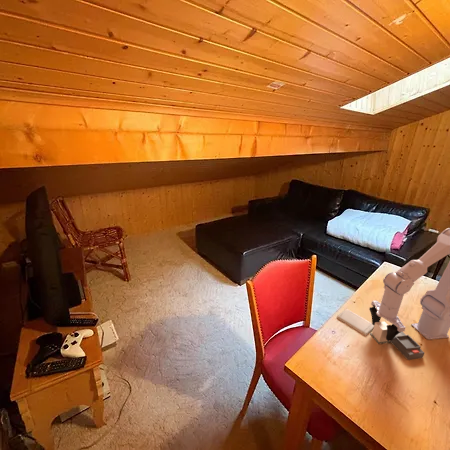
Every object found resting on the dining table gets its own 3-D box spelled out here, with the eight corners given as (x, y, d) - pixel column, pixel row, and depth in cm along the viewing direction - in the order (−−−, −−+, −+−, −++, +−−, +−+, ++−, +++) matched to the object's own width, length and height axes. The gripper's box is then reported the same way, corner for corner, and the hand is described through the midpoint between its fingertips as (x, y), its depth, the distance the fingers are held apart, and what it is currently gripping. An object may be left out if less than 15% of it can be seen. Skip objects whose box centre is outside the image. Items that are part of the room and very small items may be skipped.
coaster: (381, 332, 97) (381, 332, 97) (390, 342, 93) (390, 341, 93) (370, 334, 97) (370, 333, 97) (378, 343, 92) (378, 342, 92)
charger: (381, 333, 97) (384, 321, 94) (388, 341, 93) (392, 329, 91) (371, 333, 96) (375, 322, 94) (378, 342, 93) (382, 330, 90)
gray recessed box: (400, 336, 96) (402, 329, 94) (422, 357, 86) (425, 350, 85) (386, 337, 95) (389, 330, 94) (407, 359, 86) (410, 352, 85)
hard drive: (337, 315, 105) (366, 333, 96) (346, 308, 109) (375, 324, 100) (336, 318, 106) (365, 336, 96) (346, 311, 110) (375, 327, 101)
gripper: (367, 292, 95) (360, 319, 100) (395, 318, 81) (386, 348, 86) (383, 290, 96) (376, 317, 101) (414, 316, 82) (403, 346, 87)
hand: (381, 331), depth 94 cm, fingers open, 7 cm apart
